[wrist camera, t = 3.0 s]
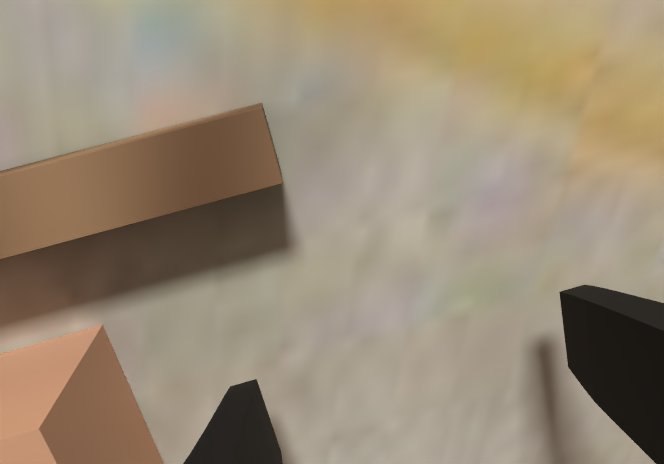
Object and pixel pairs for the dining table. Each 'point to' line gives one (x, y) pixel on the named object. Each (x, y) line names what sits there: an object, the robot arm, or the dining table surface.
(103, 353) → the block
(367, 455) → the dining table surface
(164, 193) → the channel
